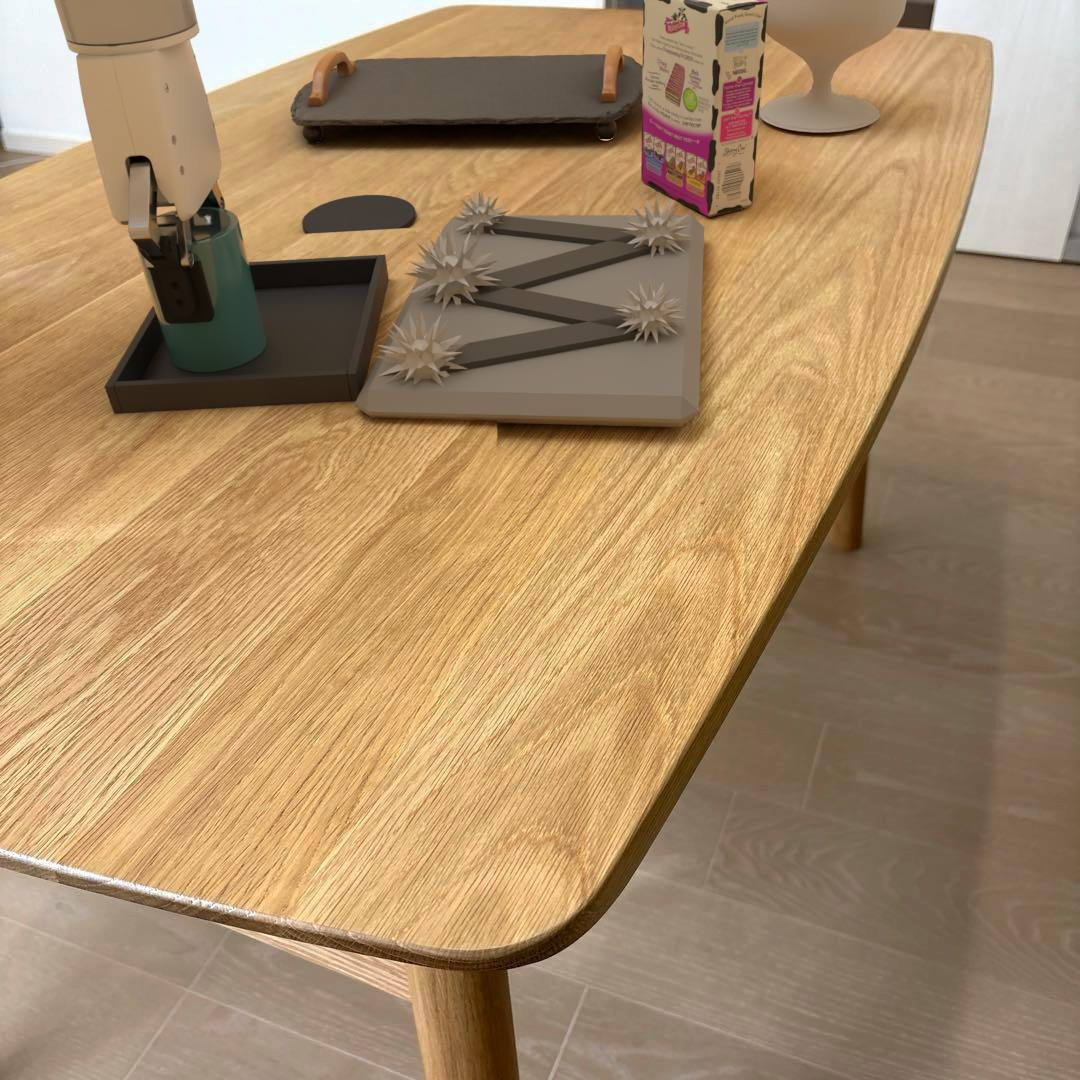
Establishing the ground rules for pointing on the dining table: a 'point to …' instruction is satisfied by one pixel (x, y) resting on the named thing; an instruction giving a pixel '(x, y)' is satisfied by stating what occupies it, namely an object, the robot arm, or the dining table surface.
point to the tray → (271, 343)
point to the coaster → (360, 214)
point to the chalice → (826, 58)
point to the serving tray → (470, 91)
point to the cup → (215, 298)
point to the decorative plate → (549, 322)
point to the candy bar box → (702, 100)
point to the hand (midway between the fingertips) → (204, 293)
